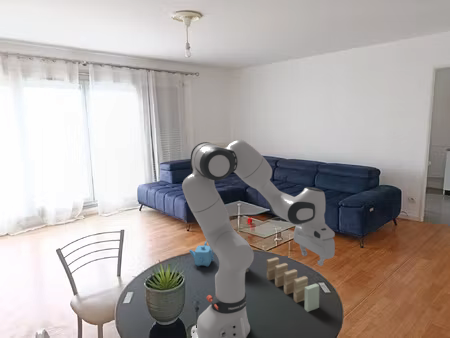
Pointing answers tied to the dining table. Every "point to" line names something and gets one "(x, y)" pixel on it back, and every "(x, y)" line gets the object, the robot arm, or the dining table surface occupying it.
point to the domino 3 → (289, 281)
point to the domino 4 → (300, 288)
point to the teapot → (202, 255)
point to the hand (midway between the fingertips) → (312, 260)
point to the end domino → (311, 297)
